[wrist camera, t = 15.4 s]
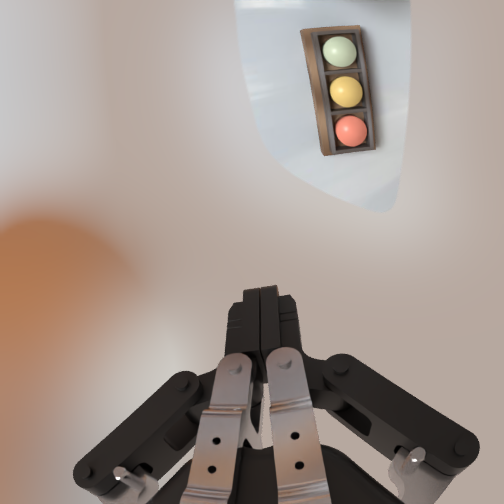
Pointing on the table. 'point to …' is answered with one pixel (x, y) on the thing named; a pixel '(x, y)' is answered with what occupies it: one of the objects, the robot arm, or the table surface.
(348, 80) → the button ochre
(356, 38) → the toy traffic light
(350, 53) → the button sage
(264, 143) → the table surface
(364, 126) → the button coral
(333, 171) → the table surface
